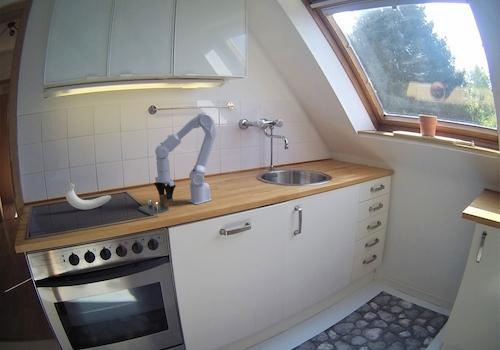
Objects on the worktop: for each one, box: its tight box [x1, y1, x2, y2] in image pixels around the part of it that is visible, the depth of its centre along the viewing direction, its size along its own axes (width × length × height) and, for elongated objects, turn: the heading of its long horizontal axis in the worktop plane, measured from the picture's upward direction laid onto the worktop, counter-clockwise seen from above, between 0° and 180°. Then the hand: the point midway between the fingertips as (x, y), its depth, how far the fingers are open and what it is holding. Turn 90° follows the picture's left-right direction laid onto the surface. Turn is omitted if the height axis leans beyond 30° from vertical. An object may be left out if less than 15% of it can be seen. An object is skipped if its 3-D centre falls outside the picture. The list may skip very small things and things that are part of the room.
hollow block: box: [158, 193, 174, 208], centre depth 159 cm, size 5×5×5 cm
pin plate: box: [138, 198, 170, 216], centre depth 153 cm, size 9×12×4 cm
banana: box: [65, 182, 112, 211], centre depth 156 cm, size 5×19×15 cm, turn 123°
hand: (165, 197), depth 159 cm, fingers open, 7 cm apart
